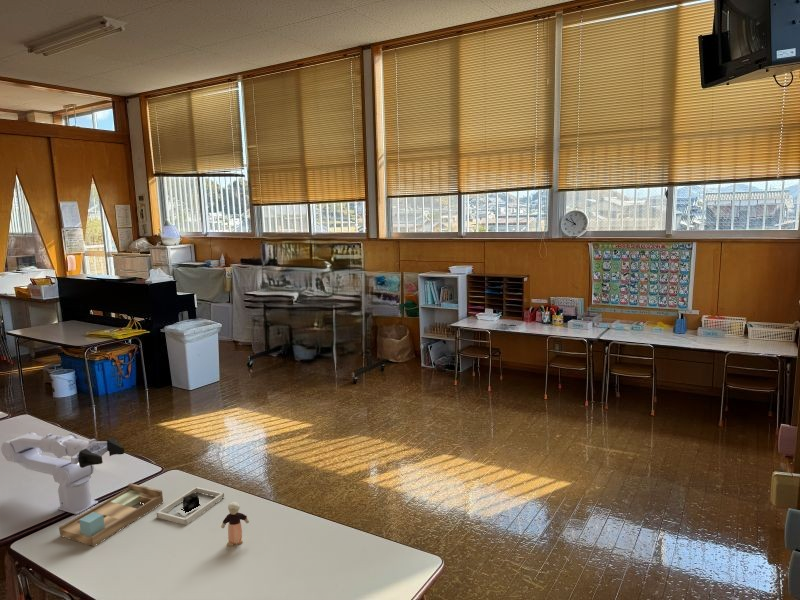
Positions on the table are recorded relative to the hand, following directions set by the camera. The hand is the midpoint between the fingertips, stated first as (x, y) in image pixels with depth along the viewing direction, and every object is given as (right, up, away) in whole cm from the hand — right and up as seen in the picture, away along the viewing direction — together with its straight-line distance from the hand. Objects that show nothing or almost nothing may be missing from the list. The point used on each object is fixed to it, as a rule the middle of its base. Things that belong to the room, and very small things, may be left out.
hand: (112, 455), depth 171 cm
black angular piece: (+21, -21, +9) cm, 31 cm away
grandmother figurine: (+42, -23, -10) cm, 49 cm away
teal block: (-2, -21, -7) cm, 22 cm away
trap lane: (-2, -21, +3) cm, 22 cm away
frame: (+21, -20, +9) cm, 30 cm away
